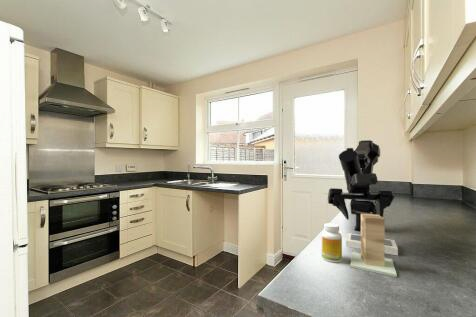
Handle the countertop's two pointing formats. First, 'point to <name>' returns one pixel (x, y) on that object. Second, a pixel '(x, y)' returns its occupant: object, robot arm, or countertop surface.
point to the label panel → (355, 242)
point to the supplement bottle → (331, 243)
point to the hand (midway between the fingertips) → (364, 219)
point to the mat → (359, 264)
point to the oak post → (373, 239)
